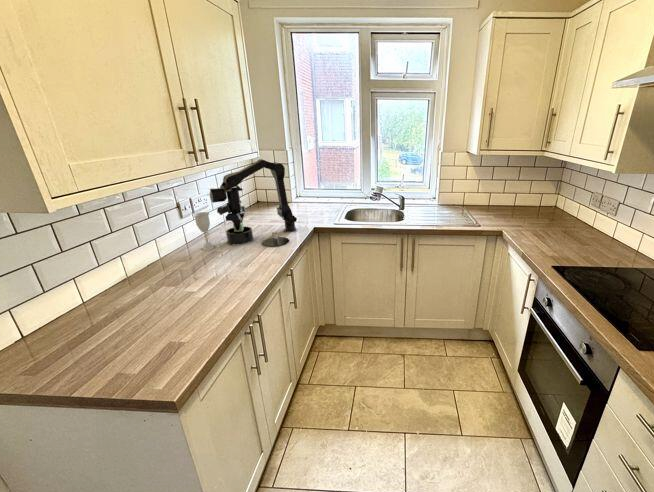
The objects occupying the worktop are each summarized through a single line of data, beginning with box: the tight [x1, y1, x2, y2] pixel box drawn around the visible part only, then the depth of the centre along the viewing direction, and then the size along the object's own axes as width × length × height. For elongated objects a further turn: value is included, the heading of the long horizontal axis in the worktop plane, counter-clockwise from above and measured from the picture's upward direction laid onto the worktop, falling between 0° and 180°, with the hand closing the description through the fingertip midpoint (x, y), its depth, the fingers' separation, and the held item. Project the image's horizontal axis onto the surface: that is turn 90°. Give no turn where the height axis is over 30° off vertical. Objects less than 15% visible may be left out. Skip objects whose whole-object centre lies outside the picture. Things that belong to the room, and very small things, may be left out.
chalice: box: [192, 211, 215, 251], centre depth 157 cm, size 7×7×18 cm
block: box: [232, 221, 244, 232], centre depth 168 cm, size 4×4×4 cm
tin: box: [225, 225, 254, 246], centre depth 169 cm, size 13×13×6 cm
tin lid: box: [262, 231, 290, 248], centre depth 168 cm, size 14×14×6 cm
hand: (238, 228), depth 168 cm, fingers closed on block, 4 cm apart
